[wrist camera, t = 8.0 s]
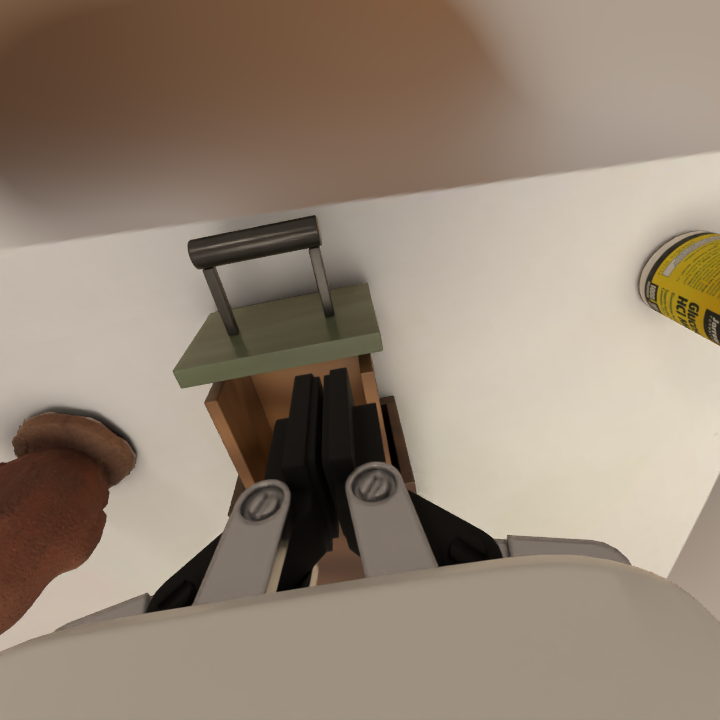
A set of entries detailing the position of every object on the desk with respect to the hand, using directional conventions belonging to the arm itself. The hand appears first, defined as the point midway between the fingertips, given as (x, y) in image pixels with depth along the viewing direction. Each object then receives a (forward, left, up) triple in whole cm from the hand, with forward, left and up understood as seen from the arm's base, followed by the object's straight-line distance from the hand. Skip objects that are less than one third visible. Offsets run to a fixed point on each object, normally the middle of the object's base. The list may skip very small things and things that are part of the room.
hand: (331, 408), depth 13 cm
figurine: (+12, -25, -17) cm, 33 cm away
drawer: (+6, -3, -16) cm, 17 cm away
